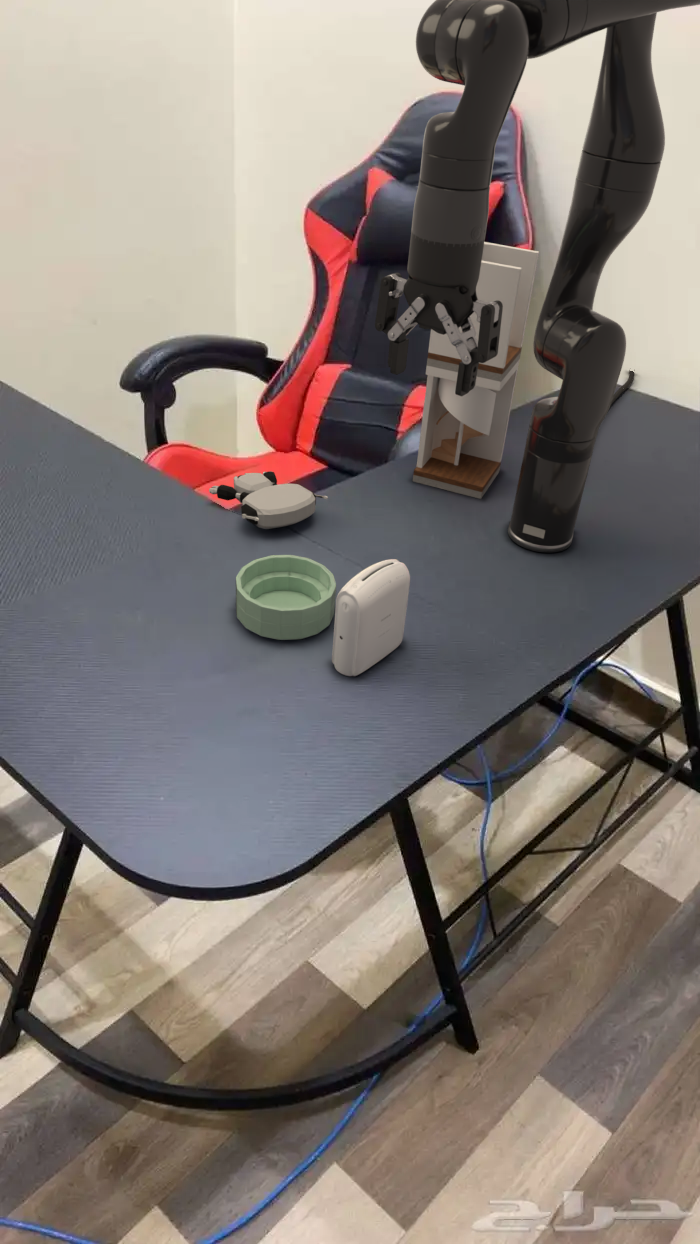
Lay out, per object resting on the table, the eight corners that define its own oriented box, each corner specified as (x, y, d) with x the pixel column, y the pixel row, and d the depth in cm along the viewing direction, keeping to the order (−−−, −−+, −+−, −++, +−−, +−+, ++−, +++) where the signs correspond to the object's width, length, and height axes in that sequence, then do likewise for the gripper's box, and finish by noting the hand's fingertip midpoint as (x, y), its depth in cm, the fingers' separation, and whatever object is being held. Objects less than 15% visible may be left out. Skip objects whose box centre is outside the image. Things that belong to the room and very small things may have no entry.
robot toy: (204, 506, 142) (260, 545, 132) (202, 479, 139) (259, 516, 129) (272, 486, 148) (330, 522, 138) (271, 459, 146) (331, 494, 136)
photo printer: (353, 682, 110) (361, 595, 102) (325, 666, 112) (332, 579, 105) (407, 644, 116) (418, 559, 109) (380, 629, 119) (389, 545, 111)
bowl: (278, 576, 127) (279, 544, 124) (352, 611, 121) (355, 579, 118) (215, 616, 118) (215, 583, 115) (292, 656, 113) (293, 622, 110)
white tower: (412, 481, 151) (440, 254, 131) (434, 455, 159) (463, 238, 139) (480, 498, 148) (520, 269, 127) (499, 471, 156) (539, 251, 136)
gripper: (527, 239, 96) (501, 391, 105) (409, 210, 102) (395, 357, 112) (491, 252, 91) (467, 411, 100) (370, 222, 97) (358, 374, 106)
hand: (429, 382), depth 106 cm, fingers open, 8 cm apart
